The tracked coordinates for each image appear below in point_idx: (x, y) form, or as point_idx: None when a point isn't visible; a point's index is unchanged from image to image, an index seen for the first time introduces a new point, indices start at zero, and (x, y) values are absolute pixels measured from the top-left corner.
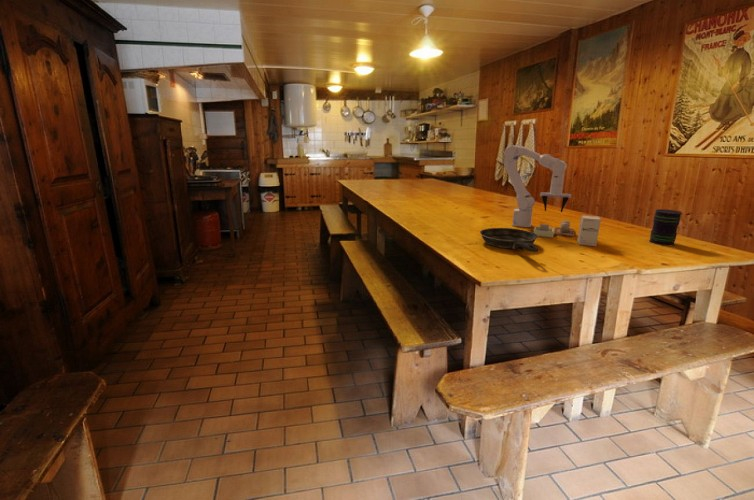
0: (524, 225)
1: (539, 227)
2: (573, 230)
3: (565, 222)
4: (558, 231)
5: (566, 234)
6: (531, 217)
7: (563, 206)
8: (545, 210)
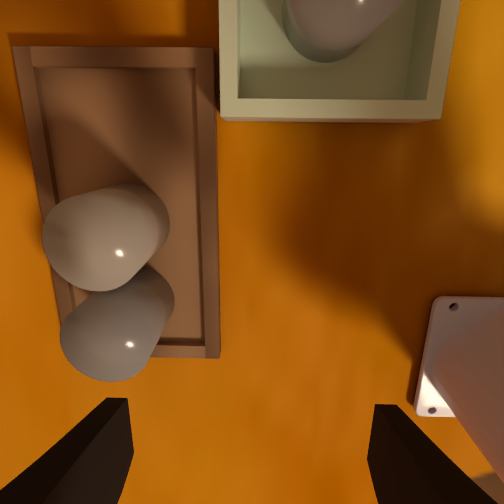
0: (497, 309)
1: (387, 100)
2: (60, 288)
3: (102, 302)
4: (183, 215)
5: (93, 65)
6: (475, 416)
7: (18, 483)
8: (386, 406)
